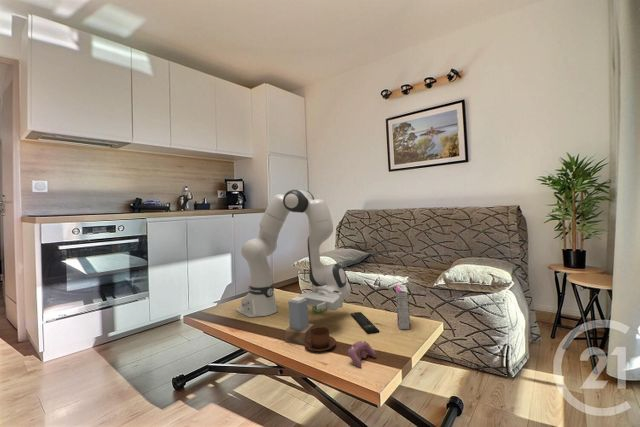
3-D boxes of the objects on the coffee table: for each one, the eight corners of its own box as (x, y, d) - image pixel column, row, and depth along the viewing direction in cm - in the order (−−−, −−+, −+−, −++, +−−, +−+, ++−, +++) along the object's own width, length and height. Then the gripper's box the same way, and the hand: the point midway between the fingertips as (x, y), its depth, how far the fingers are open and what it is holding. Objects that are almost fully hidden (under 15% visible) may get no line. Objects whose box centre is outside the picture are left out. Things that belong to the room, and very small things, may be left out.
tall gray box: (289, 328, 125) (288, 299, 125) (298, 323, 130) (297, 295, 129) (300, 330, 122) (298, 301, 122) (308, 326, 126) (307, 297, 126)
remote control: (367, 335, 127) (367, 332, 127) (350, 315, 150) (350, 312, 150) (379, 333, 128) (379, 330, 128) (360, 314, 151) (360, 311, 151)
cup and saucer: (322, 357, 110) (322, 340, 110) (298, 348, 117) (297, 332, 117) (342, 344, 119) (341, 328, 119) (318, 337, 127) (317, 322, 126)
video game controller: (369, 358, 110) (361, 338, 112) (378, 356, 107) (370, 336, 109) (351, 369, 103) (343, 348, 105) (360, 368, 100) (352, 346, 102)
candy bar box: (396, 319, 141) (395, 284, 140) (408, 320, 140) (406, 284, 139) (398, 329, 130) (396, 291, 129) (410, 330, 129) (408, 291, 128)
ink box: (320, 312, 155) (319, 283, 155) (312, 311, 158) (310, 282, 157) (329, 307, 163) (327, 279, 162) (320, 306, 165) (319, 278, 165)
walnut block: (285, 342, 123) (284, 330, 123) (294, 333, 132) (294, 322, 131) (305, 345, 120) (305, 333, 120) (314, 336, 128) (313, 324, 128)
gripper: (308, 287, 147) (288, 295, 136) (344, 293, 134) (326, 302, 124) (309, 300, 147) (289, 309, 136) (345, 307, 135) (327, 317, 124)
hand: (307, 305), depth 130 cm, fingers open, 8 cm apart
